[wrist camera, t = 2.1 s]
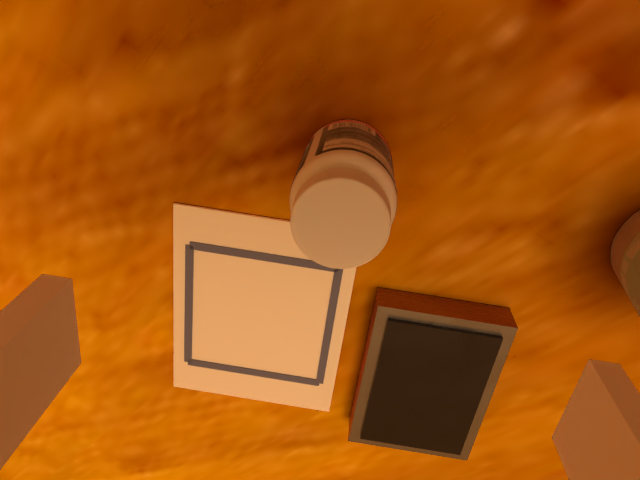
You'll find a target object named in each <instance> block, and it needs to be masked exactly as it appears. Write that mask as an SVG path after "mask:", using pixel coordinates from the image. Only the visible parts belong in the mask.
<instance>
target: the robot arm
mask: <svg viewBox="0 0 640 480" xmlns="http://www.w3.org/2000/svg"><path fill="white" fill-rule="evenodd" d="M80 364H81V356H80V347H79V338H78V329H77V320H76V310H75V301H74V292H73V283H72V279H71V278H65V277H59V276H52V275H46V274H42V275H41V276H40V277H38V278H37V279H36V280H35V281H34V282H33V283H32V284H31V285H29V286H28V287H27V288H26V289H25V290H24V291H23V292H22V293H20V294H19V295H18V296H17V297H16V298H15V299H14V300H13V301H11V302H10V303H9V304H8V305H7V306H6V307H5V308H4V309H2V310H1V311H0V470H1V468H2V467H3V466H4V464H5V463H6V462H7V460H8V459H9V458H10V456H11V455H12V454H13V452H14V451H15V450H16V448H17V447H18V446H19V444H20V443H21V442H22V440H23V439H24V438H25V436H26V435H27V434H28V433H29V431H30V430H31V429H32V427H33V426H34V425H35V423H36V422H37V421H38V419H39V418H40V417H41V415H42V414H43V413H44V411H45V410H46V409H47V407H48V406H49V405H50V403H51V402H52V401H53V399H54V398H55V397H56V395H57V394H58V393H59V392H60V390H61V389H62V388H63V386H64V385H65V384H66V382H67V381H68V380H69V378H70V377H71V376H72V374H73V373H74V372H75V370H76V369H77V368H78V366H79V365H80ZM552 439H553V441H554V444H555V446H556V449H557V451H558V454H559V456H560V459H561V461H562V463H563V466H564V468H565V471H566V473H567V476H568V478H569V480H640V394H639V392H638V391H637V389H636V388H635V386H634V385H633V383H632V382H631V380H630V379H629V377H628V376H627V374H626V373H625V371H624V370H623V368H622V367H621V365H620V364H617V363H610V362H604V361H597V360H591V359H589V360H588V362H587V364H586V366H585V369H584V371H583V373H582V375H581V377H580V379H579V381H578V383H577V385H576V387H575V390H574V392H573V394H572V396H571V398H570V400H569V402H568V404H567V406H566V409H565V411H564V413H563V415H562V417H561V419H560V421H559V423H558V425H557V428H556V430H555V432H554V434H553V436H552Z"/></svg>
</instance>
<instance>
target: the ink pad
mask: <svg viewBox="0 0 640 480" xmlns="http://www.w3.org/2000/svg"><path fill="white" fill-rule="evenodd" d="M517 329H518V327H517V325H516V322H515V320H514V318H513V315H512V313H511V311H510V309H509V308H506V307H500V306H493V305H487V304H481V303H474V302H468V301H462V300H455V299H449V298H443V297H436V296H430V295H424V294H417V293H411V292H405V291H398V290H392V289H386V288H379V287H378V288H377V293H376V297H375V302H374V307H373V311H372V316H371V321H370V325H369V330H368V334H367V339H366V344H365V348H364V353H363V357H362V362H361V367H360V371H359V376H358V381H357V385H356V390H355V394H354V399H353V404H352V408H351V413H350V417H349V436H348V441H352V442H358V443H364V444H370V445H376V446H382V447H388V448H394V449H400V450H407V451H413V452H419V453H425V454H431V455H437V456H443V457H449V458H455V459H461V460H467V459H468V457H469V454H470V452H471V449H472V446H473V444H474V441H475V439H476V436H477V433H478V431H479V428H480V426H481V423H482V420H483V418H484V415H485V413H486V410H487V407H488V405H489V402H490V399H491V397H492V394H493V392H494V389H495V386H496V384H497V381H498V379H499V376H500V373H501V371H502V368H503V366H504V363H505V360H506V358H507V355H508V353H509V350H510V347H511V345H512V342H513V340H514V337H515V334H516V332H517Z"/></svg>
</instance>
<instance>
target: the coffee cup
mask: <svg viewBox="0 0 640 480" xmlns="http://www.w3.org/2000/svg"><path fill="white" fill-rule="evenodd" d="M610 260H611V265H612V268H613V270H614V272H615V274H616V276H617V277H618V279H619V281H620V283H621V284H622V286H623V288H624V290H625V292H626V294H627V295H628V297H629V299H630V301H631V302H632V304H633V306H634V308H635V309H636V311H637V313H638V315H639V316H640V210H639V211H637V212H636V213H635V214H633V215H632V216H631V217H630V218H629V219H628V220H627V221H626V222H625V223H624V224H623V225H622V226H621V228H620V229H619V230H618V232H617V234H616V235H615V237H614V240H613V242H612V246H611V251H610Z"/></svg>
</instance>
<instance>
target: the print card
mask: <svg viewBox="0 0 640 480" xmlns="http://www.w3.org/2000/svg"><path fill="white" fill-rule="evenodd" d="M355 272H356V267H355V268H349V269H334V268H329V267H326V266H322V265H320V264H318V263H316V262H314V261H312V260H311V259H309V258H308V257H307V256H306V255H305V254H304V253H303V252H302V251H301V250H300V249H299V247H298V246H297V244H296V242H295V240H294V238H293V235H292V232H291V226H290V221H289V220H283V219H276V218H270V217H263V216H257V215H251V214H244V213H238V212H231V211H225V210H219V209H212V208H206V207H200V206H193V205H187V204H180V203H174V204H173V283H174V387H180V388H186V389H192V390H199V391H205V392H211V393H217V394H223V395H229V396H235V397H242V398H248V399H254V400H260V401H266V402H272V403H278V404H285V405H291V406H297V407H303V408H309V409H315V410H321V411H328V412H329V409H330V404H331V399H332V394H333V388H334V383H335V378H336V372H337V367H338V362H339V357H340V351H341V346H342V341H343V336H344V330H345V325H346V320H347V315H348V309H349V304H350V299H351V293H352V288H353V283H354V278H355Z"/></svg>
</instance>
